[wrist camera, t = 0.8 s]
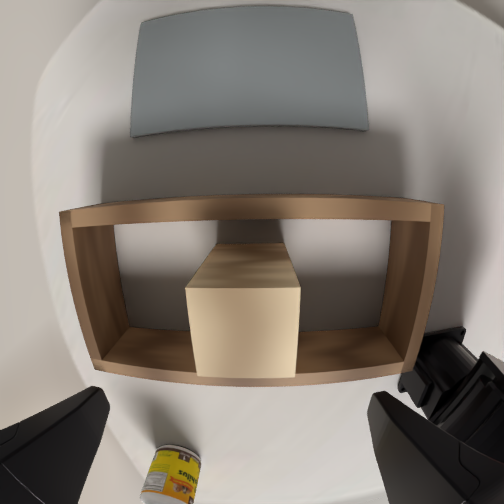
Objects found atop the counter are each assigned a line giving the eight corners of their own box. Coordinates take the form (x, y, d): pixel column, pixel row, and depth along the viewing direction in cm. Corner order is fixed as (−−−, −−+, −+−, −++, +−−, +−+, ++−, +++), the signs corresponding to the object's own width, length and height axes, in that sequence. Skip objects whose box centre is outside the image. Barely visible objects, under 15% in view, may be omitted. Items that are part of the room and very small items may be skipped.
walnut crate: (404, 198, 17) (444, 204, 12) (386, 335, 20) (412, 370, 15) (100, 203, 18) (59, 211, 13) (122, 336, 20) (94, 369, 16)
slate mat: (350, 17, 14) (352, 14, 13) (366, 131, 16) (368, 129, 16) (143, 25, 14) (140, 22, 14) (133, 137, 17) (130, 136, 16)
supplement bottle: (209, 465, 25) (198, 532, 15) (170, 465, 26) (153, 526, 16) (189, 442, 24) (170, 516, 14) (148, 442, 24) (123, 508, 14)
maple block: (284, 243, 18) (300, 287, 10) (283, 305, 19) (294, 377, 12) (216, 244, 18) (185, 287, 11) (220, 305, 19) (197, 376, 12)
